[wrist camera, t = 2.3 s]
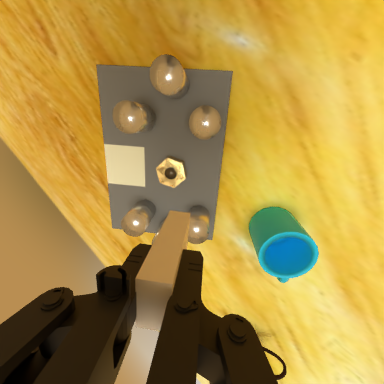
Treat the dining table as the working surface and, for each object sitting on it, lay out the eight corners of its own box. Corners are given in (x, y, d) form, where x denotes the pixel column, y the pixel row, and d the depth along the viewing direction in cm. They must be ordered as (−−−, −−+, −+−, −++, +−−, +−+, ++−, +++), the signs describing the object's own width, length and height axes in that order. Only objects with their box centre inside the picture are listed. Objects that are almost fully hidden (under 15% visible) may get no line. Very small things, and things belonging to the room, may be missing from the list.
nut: (157, 158, 32) (153, 160, 30) (182, 153, 31) (180, 155, 29) (164, 186, 34) (161, 190, 32) (188, 182, 33) (187, 186, 31)
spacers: (129, 66, 28) (107, 51, 22) (225, 70, 26) (228, 57, 21) (136, 231, 37) (123, 250, 32) (206, 239, 36) (205, 260, 31)
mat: (98, 65, 29) (96, 64, 28) (232, 72, 27) (232, 71, 26) (113, 226, 38) (112, 228, 38) (212, 238, 37) (212, 239, 36)
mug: (247, 209, 34) (256, 234, 26) (295, 204, 33) (320, 229, 25) (251, 262, 38) (261, 298, 30) (294, 260, 37) (316, 296, 29)
